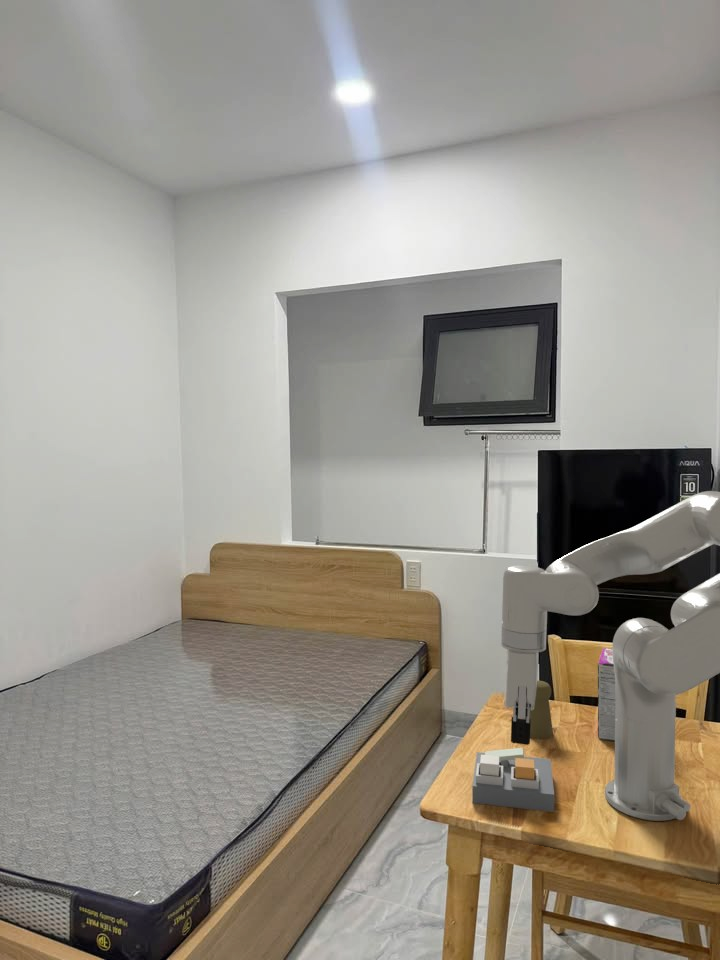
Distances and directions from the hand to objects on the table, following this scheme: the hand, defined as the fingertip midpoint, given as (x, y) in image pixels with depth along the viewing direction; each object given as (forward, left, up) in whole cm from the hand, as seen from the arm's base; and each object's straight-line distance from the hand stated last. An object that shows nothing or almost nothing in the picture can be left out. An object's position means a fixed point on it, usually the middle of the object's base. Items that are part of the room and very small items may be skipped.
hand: (520, 741), depth 117 cm
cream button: (+3, +4, -6) cm, 8 cm away
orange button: (0, -1, -6) cm, 6 cm away
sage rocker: (+7, -1, -6) cm, 9 cm away
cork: (+21, -19, -10) cm, 30 cm away
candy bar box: (+16, -34, -10) cm, 39 cm away
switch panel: (+3, -1, -10) cm, 11 cm away
